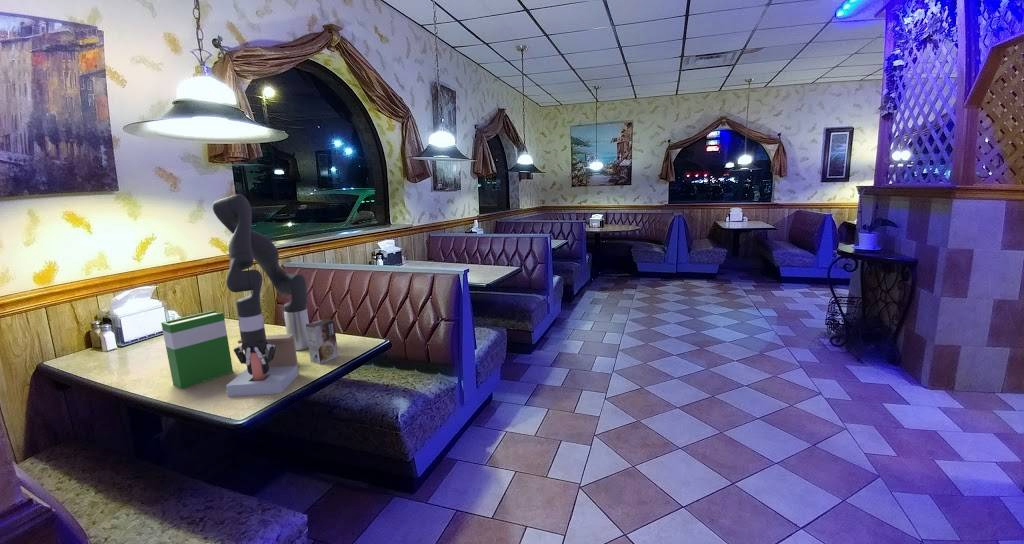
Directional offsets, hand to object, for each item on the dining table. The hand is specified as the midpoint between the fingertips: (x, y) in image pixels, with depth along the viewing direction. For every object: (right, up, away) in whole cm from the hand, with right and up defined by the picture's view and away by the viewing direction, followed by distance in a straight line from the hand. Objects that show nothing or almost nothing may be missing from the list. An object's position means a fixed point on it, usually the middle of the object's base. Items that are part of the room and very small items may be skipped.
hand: (259, 373), depth 163 cm
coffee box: (+12, 0, +26) cm, 29 cm away
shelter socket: (0, -5, +4) cm, 6 cm away
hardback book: (-28, -5, +12) cm, 31 cm away
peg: (0, -4, +1) cm, 4 cm away
